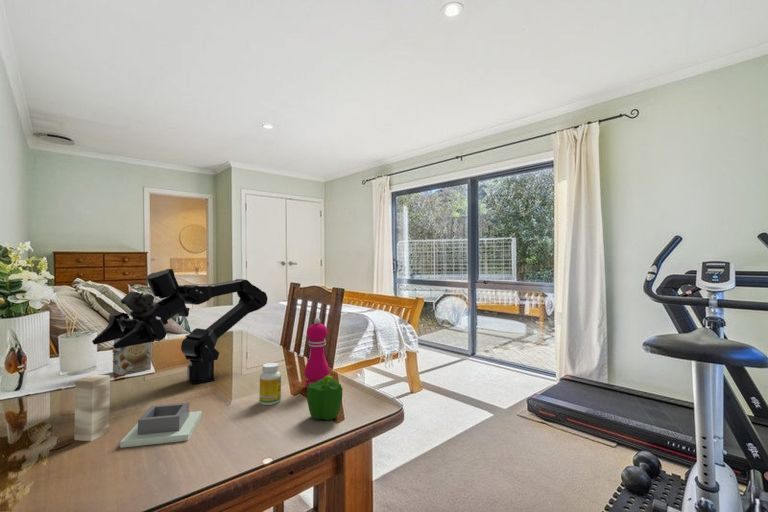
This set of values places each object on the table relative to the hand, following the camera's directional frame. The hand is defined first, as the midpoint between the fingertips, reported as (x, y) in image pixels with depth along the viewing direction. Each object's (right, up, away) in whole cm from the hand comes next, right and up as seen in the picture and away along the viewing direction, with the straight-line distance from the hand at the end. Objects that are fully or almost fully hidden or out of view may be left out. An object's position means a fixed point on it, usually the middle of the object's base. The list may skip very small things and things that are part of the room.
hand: (103, 344), depth 88 cm
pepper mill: (+48, -17, +18) cm, 54 cm away
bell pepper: (+54, -17, -2) cm, 56 cm away
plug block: (+7, -16, -12) cm, 21 cm away
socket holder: (+21, -16, -10) cm, 28 cm away
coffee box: (-16, -17, +33) cm, 40 cm away
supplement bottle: (+38, -17, +7) cm, 42 cm away
